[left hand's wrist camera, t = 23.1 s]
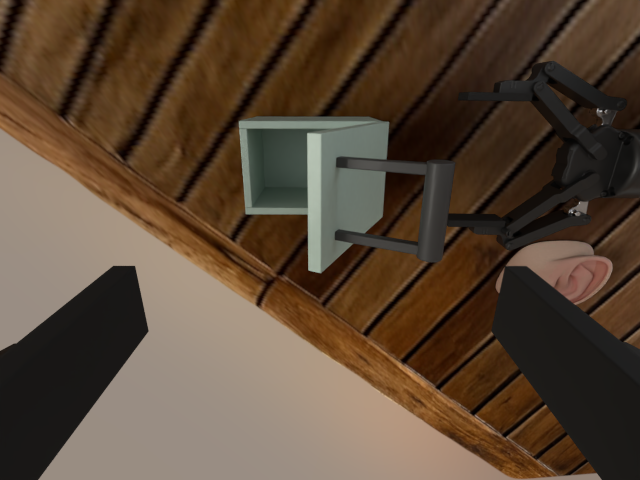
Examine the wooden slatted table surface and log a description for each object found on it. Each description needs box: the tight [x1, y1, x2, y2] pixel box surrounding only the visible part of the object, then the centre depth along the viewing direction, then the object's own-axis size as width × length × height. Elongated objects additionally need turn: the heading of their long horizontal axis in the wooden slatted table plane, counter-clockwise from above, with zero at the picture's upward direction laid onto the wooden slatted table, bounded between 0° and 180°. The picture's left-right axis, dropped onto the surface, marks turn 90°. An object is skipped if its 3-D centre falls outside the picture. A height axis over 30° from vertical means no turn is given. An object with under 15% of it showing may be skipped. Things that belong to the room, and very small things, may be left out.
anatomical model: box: [496, 241, 613, 305], centre depth 51 cm, size 13×4×12 cm
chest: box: [239, 116, 383, 214], centre depth 42 cm, size 14×10×10 cm
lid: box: [307, 121, 455, 273], centre depth 28 cm, size 15×10×9 cm
